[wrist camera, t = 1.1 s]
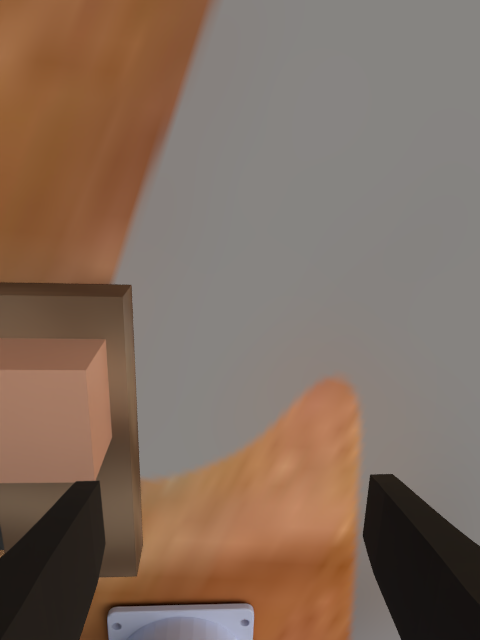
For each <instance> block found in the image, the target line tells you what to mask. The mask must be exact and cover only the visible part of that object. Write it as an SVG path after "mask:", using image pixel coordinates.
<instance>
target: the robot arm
mask: <svg viewBox="0 0 480 640" xmlns="http://www.w3.org/2000/svg"><path fill="white" fill-rule="evenodd" d="M363 538H364V542H365V546H366V549H367V553H368V556H369V560H370V563H371V566H372V569H373V573H374V575H375V578H376V581H377V583H378V585H379V588H380V590H381V593H382V595H383V597H384V600H385V602H386V605H387V607H388V609H389V612H390V614H391V616H392V619H393V621H394V623H395V626H396V628H397V630H398V633H399V635H400V637H401V640H480V546H479V545H477V544H476V543H475V542H473V541H472V540H471V539H469V538H468V537H467V536H466V535H464V534H463V533H462V532H460V531H459V530H458V529H457V528H455V527H454V526H453V525H452V524H450V523H449V522H448V521H447V520H446V519H445V518H443V517H442V516H441V515H440V514H439V513H437V512H436V511H435V510H434V509H432V508H431V507H430V506H429V505H428V504H427V503H426V502H425V501H423V500H422V499H421V498H420V497H419V496H418V495H416V494H415V493H414V492H413V491H412V490H411V489H410V488H408V487H407V486H406V485H405V484H404V483H403V482H401V481H400V480H399V479H398V478H397V477H395V476H394V475H393V474H377V475H370V481H369V490H368V497H367V505H366V513H365V522H364V530H363ZM105 545H106V541H105V531H104V520H103V510H102V500H101V489H100V481H76V482H75V483H74V484H73V485H72V486H71V487H70V488H69V489H68V490H67V491H66V492H65V493H64V494H63V495H62V496H61V497H60V498H59V499H58V500H57V502H56V503H55V504H54V505H53V506H52V507H51V508H50V509H49V510H48V511H47V512H46V513H45V514H44V515H43V516H42V518H41V519H40V520H39V521H38V522H37V523H36V524H35V525H34V526H33V527H32V528H31V529H30V530H29V531H28V532H27V533H26V534H25V535H24V536H23V537H22V538H21V539H20V540H19V541H18V542H17V543H16V544H15V545H14V546H13V547H12V548H11V549H9V550H8V551H7V552H6V553H5V554H4V555H3V556H2V557H1V558H0V640H79V639H80V636H81V633H82V630H83V627H84V624H85V621H86V618H87V615H88V612H89V609H90V605H91V602H92V599H93V596H94V593H95V590H96V587H97V583H98V579H99V574H100V570H101V565H102V560H103V555H104V550H105ZM244 619H245V620H244ZM253 624H254V610H253V607H252V606H251V605H250V604H246V603H240V604H201V605H162V606H124V607H113V608H111V609H110V610H109V612H108V616H107V625H108V638H109V640H253Z"/></svg>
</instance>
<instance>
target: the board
mask: <svg viewBox="0 0 480 640" xmlns="http://www.w3.org/2000/svg"><path fill="white" fill-rule="evenodd" d="M0 338H47V339H106V350H107V366H108V381H109V397H110V413H111V428H112V439H111V441H110V444H109V446H108V449H107V452H106V454H105V457H104V460H103V462H102V465H101V467H100V470H99V473H98V475H97V478H96V481H100V489H101V500H102V510H103V520H104V531H105V541H106V545H105V550H104V555H103V560H102V565H101V570H100V574H99V577H133V576H137V573H138V567H139V562H140V557H141V552H142V546H143V536H142V513H141V490H140V468H139V446H138V422H137V400H136V379H135V378H136V377H135V354H134V331H133V309H132V286H131V285H112V284H53V283H0ZM73 484H74V483H0V550H5V553H6V552H7V551H8V550H9V549H11V548H12V547H13V546H14V545H15V544H16V543H17V542H18V541H19V540H20V539H21V538H22V537H23V536H24V535H25V534H26V533H27V532H28V531H29V530H30V529H31V528H32V527H33V526H34V525H35V524H36V523H37V522H38V521H39V520H40V519H41V518H42V516H43V515H44V514H45V513H46V512H47V511H48V510H49V509H50V508H51V507H52V506H53V505H54V504H55V503H56V502H57V500H58V499H59V498H60V497H61V496H62V495H63V494H64V493H65V492H66V491H67V490H68V489H69V488H70V487H71V486H72V485H73Z"/></svg>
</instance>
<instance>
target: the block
mask: <svg viewBox="0 0 480 640" xmlns="http://www.w3.org/2000/svg"><path fill="white" fill-rule="evenodd" d="M111 439H112V428H111V413H110V397H109V381H108V366H107V350H106V339H47V338H0V483H75V482H76V481H96V478H97V475H98V473H99V470H100V467H101V465H102V462H103V460H104V457H105V454H106V452H107V449H108V446H109V444H110V441H111Z"/></svg>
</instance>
